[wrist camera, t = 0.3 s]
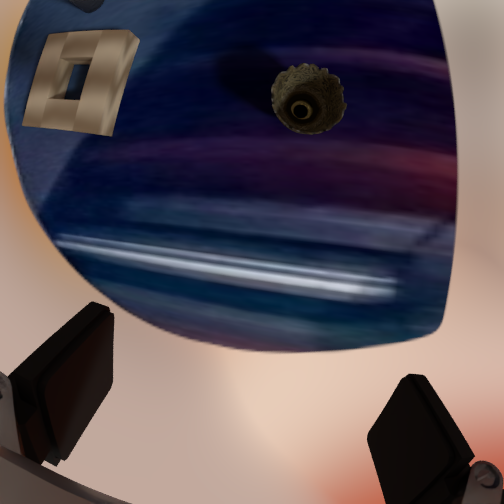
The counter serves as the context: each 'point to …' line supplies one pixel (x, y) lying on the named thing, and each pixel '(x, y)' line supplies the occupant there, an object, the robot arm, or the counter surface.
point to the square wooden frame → (96, 84)
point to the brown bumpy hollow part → (308, 98)
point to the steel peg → (88, 5)
